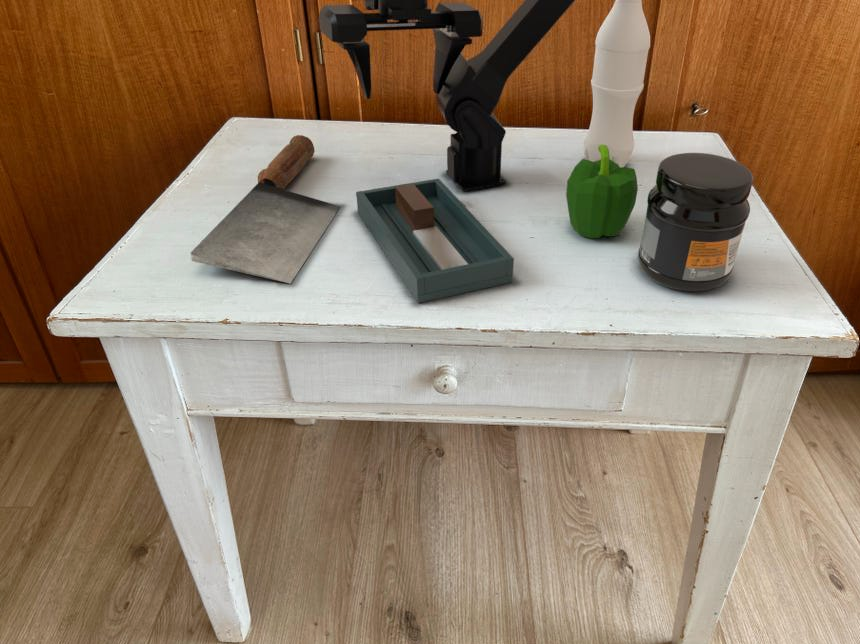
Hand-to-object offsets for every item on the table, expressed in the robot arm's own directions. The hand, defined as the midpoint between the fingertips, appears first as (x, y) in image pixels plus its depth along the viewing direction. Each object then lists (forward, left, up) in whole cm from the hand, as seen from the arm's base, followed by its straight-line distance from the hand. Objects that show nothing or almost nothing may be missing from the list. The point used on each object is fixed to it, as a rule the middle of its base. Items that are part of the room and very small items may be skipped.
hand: (402, 95), depth 89 cm
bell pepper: (-18, +21, -12) cm, 30 cm away
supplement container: (-22, +33, -12) cm, 41 cm away
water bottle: (-29, +4, -12) cm, 32 cm away
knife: (+3, +17, -11) cm, 20 cm away
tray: (+3, +17, -12) cm, 21 cm away
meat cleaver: (+16, +2, -12) cm, 20 cm away
